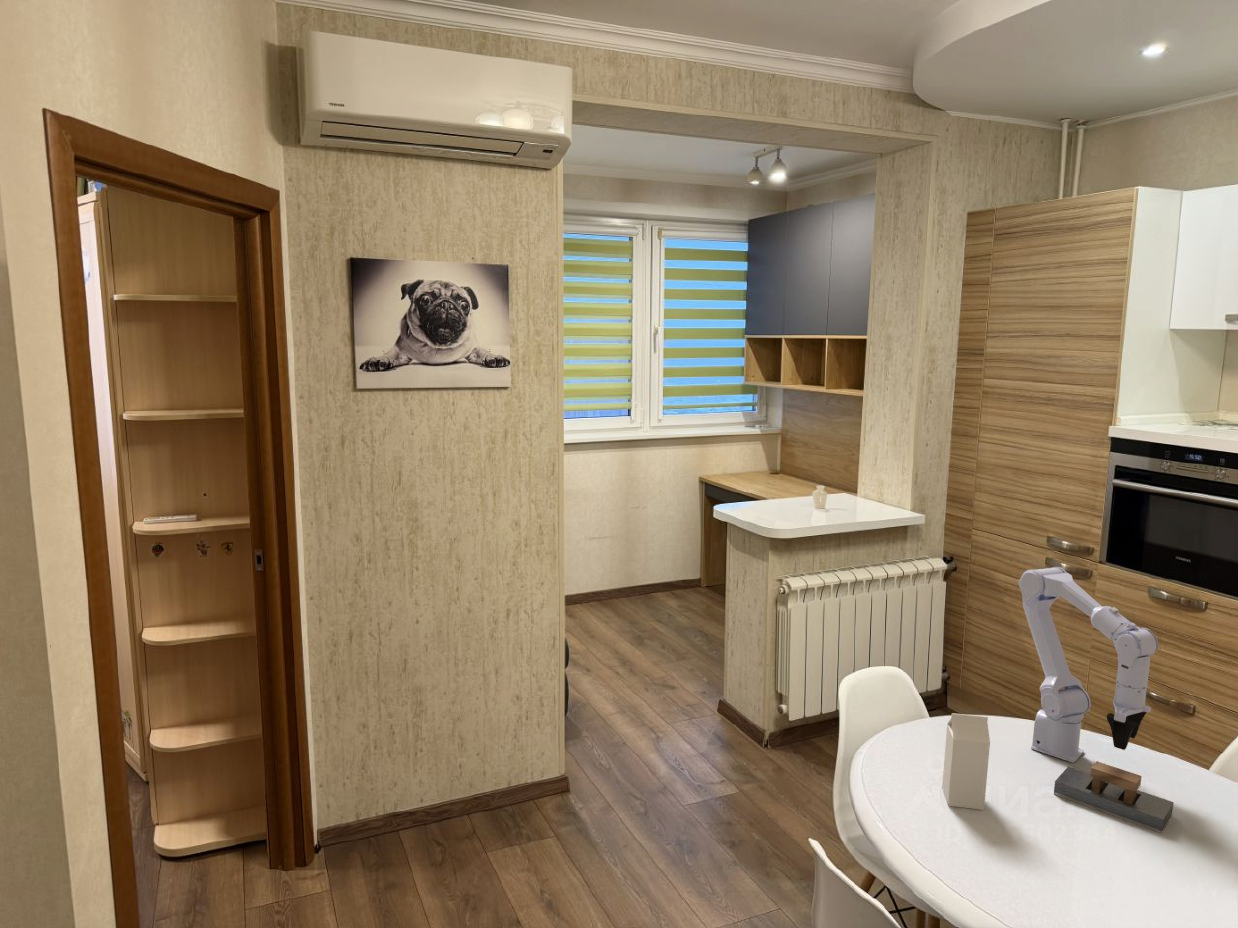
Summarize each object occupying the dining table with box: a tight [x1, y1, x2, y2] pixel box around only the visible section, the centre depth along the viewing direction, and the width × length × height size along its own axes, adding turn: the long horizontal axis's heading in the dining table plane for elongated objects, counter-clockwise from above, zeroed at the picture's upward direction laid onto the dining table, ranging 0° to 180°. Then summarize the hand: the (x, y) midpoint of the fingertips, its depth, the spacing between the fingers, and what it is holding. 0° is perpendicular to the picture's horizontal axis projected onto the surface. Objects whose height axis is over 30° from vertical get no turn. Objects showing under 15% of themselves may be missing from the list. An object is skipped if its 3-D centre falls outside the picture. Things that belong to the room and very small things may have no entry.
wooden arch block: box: [1089, 761, 1142, 805], centre depth 174 cm, size 8×4×7 cm, turn 45°
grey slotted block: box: [1053, 766, 1175, 834], centre depth 174 cm, size 20×9×3 cm, turn 46°
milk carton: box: [941, 712, 991, 810], centre depth 174 cm, size 7×7×19 cm
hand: (1124, 742), depth 181 cm, fingers open, 7 cm apart
